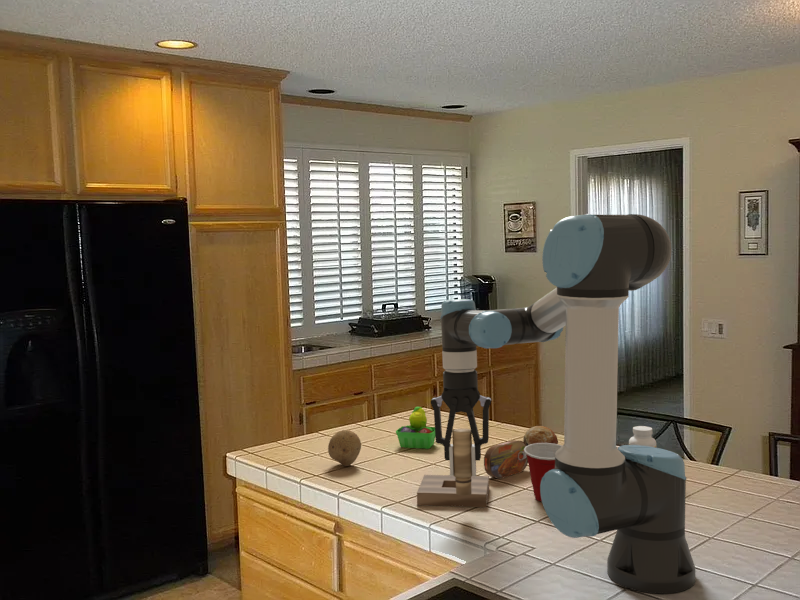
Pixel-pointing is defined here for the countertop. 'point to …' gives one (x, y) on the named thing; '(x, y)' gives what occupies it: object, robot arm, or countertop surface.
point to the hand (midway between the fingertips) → (463, 474)
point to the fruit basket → (416, 431)
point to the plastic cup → (540, 463)
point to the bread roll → (539, 436)
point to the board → (452, 491)
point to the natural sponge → (344, 447)
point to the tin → (505, 459)
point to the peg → (462, 460)
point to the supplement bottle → (642, 437)
